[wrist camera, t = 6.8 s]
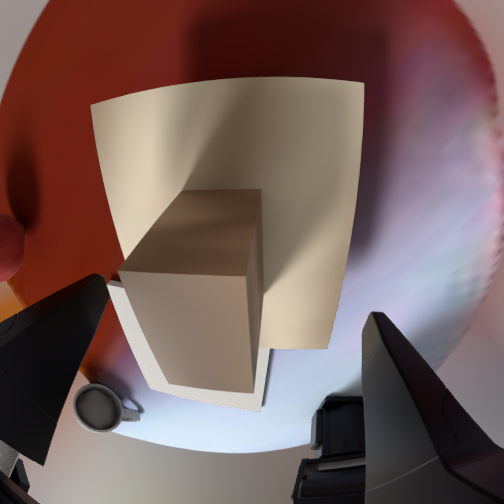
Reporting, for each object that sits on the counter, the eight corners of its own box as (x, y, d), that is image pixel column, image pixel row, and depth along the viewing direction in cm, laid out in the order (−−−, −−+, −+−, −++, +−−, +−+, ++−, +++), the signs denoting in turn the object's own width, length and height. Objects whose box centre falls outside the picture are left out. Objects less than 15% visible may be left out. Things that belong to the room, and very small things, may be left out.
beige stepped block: (356, 83, 8) (444, 84, 3) (325, 335, 15) (333, 430, 10) (104, 102, 9) (-9, 137, 4) (160, 326, 16) (127, 409, 11)
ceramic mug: (83, 387, 36) (66, 421, 30) (86, 373, 32) (65, 413, 26) (136, 417, 38) (123, 452, 32) (148, 408, 34) (132, 450, 28)
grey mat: (275, 306, 18) (274, 312, 18) (261, 407, 27) (260, 411, 27) (110, 280, 20) (106, 284, 19) (152, 384, 28) (150, 388, 28)
